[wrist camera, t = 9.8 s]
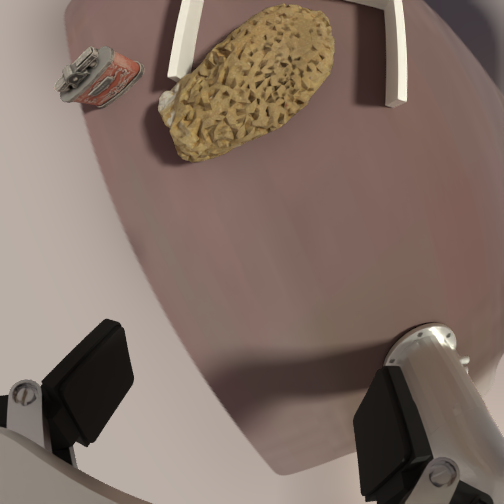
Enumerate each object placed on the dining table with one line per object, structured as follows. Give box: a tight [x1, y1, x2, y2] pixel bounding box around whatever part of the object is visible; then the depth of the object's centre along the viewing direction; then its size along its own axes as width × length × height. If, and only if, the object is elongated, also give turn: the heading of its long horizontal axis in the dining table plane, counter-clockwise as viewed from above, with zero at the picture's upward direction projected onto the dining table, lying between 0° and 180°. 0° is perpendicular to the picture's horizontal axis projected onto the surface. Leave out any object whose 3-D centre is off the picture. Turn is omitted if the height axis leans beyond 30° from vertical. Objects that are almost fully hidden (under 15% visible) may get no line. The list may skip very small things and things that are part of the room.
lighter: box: [54, 46, 144, 108], centre depth 23 cm, size 8×3×10 cm, turn 119°
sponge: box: [158, 3, 335, 162], centre depth 23 cm, size 13×8×20 cm
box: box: [167, 0, 407, 108], centre depth 21 cm, size 24×15×4 cm, turn 85°
